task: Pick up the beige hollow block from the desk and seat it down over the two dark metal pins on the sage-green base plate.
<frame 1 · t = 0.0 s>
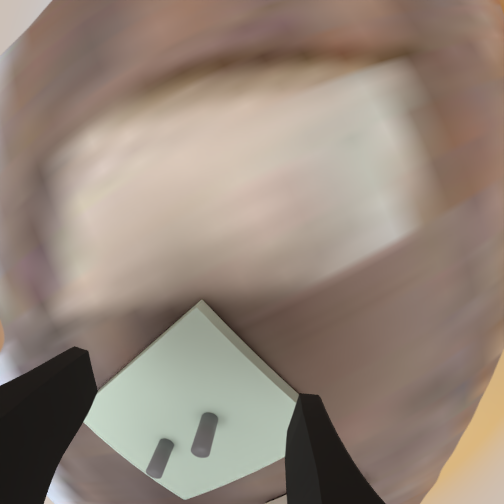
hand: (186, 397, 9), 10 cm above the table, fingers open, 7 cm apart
pin plate: (191, 420, 21), on the table
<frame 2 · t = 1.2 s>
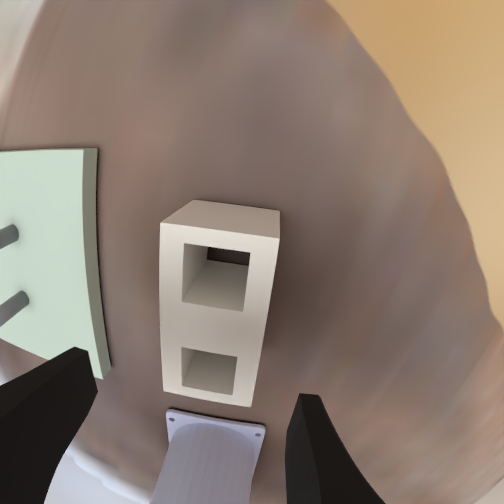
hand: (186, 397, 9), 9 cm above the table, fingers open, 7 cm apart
beige hollow block: (227, 282, 18), on the table
pin plate: (30, 259, 19), on the table
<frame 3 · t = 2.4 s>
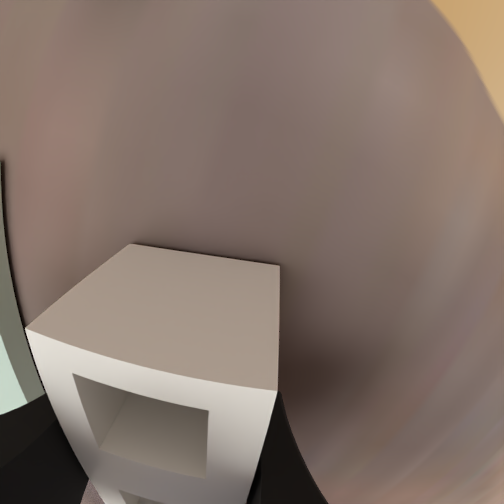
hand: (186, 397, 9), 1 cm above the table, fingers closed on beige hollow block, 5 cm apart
beige hollow block: (195, 370, 11), on the table, touching gripper
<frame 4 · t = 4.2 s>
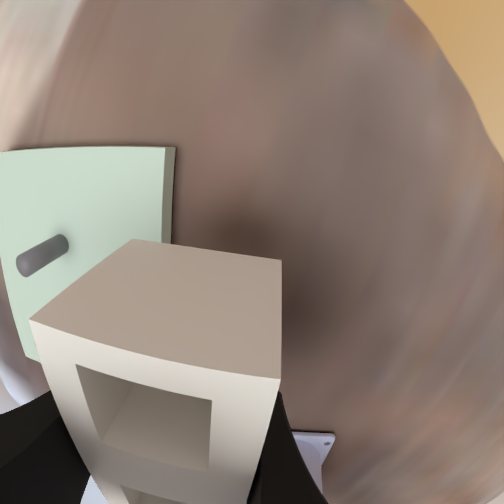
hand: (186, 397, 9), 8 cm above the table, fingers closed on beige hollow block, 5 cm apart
beige hollow block: (197, 365, 11), point 7 cm above the table, touching gripper
pin plate: (78, 273, 18), on the table
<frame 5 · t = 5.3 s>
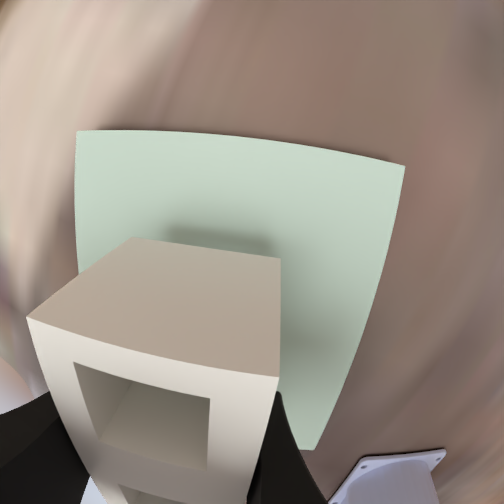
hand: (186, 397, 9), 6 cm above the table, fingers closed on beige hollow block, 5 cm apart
beige hollow block: (196, 364, 11), point 4 cm above the table, touching gripper
pin plate: (217, 313, 15), on the table
when the fingers open (4 cm above the table, at t = 6.0 s): beige hollow block drops 1 cm, resting on pin plate.
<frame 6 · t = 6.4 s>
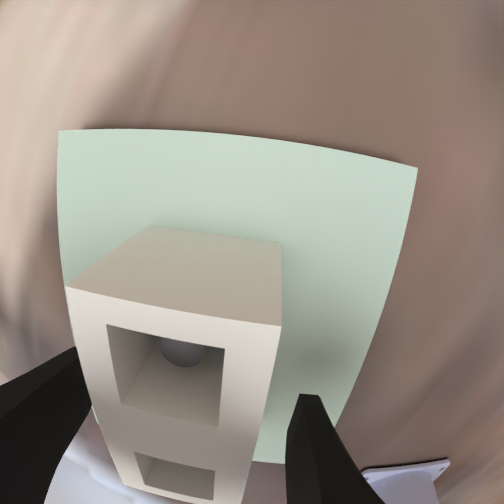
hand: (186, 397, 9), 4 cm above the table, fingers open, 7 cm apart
beige hollow block: (205, 343, 12), point 1 cm above the table, touching pin plate
pin plate: (211, 326, 13), on the table
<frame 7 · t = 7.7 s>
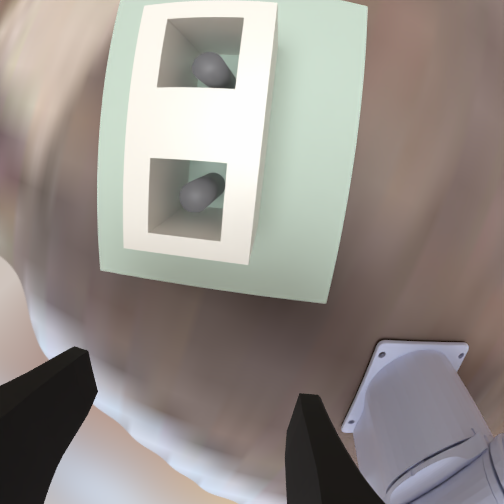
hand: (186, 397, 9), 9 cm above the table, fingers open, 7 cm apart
beige hollow block: (219, 129, 14), point 1 cm above the table, touching pin plate
pin plate: (223, 134, 15), on the table
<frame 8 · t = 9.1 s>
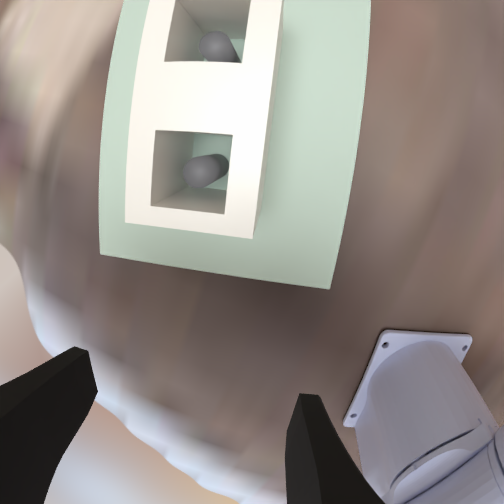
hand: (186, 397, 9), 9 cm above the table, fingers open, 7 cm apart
beige hollow block: (223, 111, 14), point 1 cm above the table, touching pin plate
pin plate: (227, 117, 15), on the table
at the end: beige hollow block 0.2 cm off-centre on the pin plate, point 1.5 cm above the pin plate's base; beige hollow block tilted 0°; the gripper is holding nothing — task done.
